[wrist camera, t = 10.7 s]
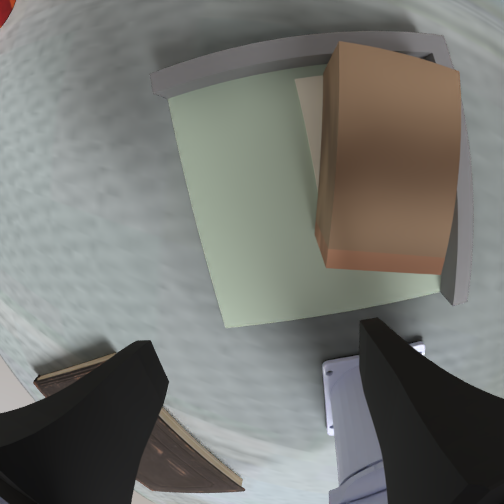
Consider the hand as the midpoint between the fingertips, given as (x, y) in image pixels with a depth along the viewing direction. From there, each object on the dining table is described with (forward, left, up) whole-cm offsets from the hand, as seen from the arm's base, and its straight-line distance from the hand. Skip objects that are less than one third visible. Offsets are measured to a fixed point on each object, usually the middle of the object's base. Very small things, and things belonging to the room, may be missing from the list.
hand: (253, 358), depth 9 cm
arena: (+4, -4, -9) cm, 11 cm away
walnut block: (+5, -7, -8) cm, 12 cm away
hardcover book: (-19, +18, -10) cm, 28 cm away
